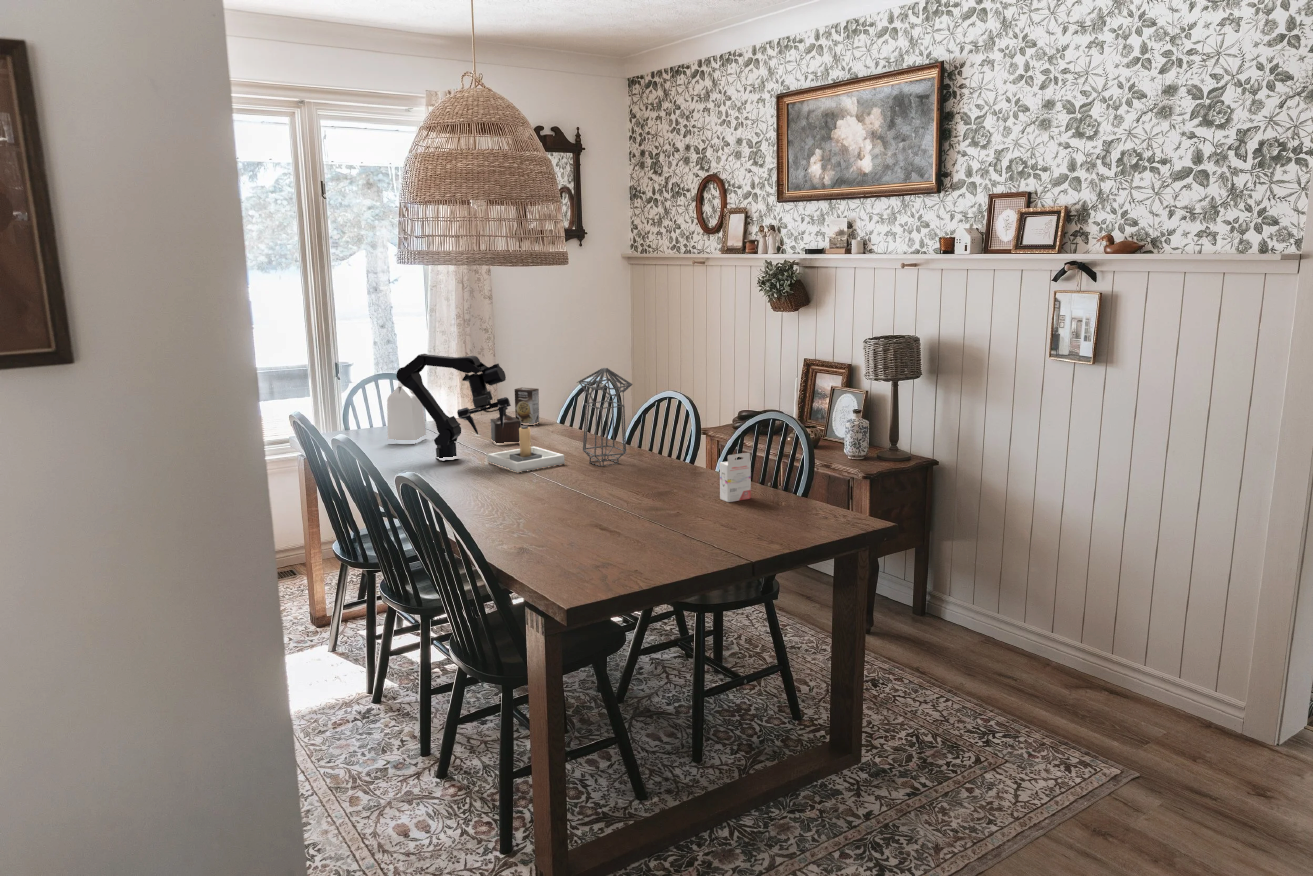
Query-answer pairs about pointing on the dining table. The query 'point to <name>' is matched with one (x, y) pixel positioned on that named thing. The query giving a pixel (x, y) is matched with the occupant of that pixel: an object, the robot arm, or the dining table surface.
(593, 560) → the dining table surface
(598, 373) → the geometric lantern
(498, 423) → the manual coffee grinder
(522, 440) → the tan bottle
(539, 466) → the walled box
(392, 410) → the milk
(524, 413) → the coffee box
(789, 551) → the dining table surface
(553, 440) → the dining table surface
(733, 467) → the ink cartridge box
